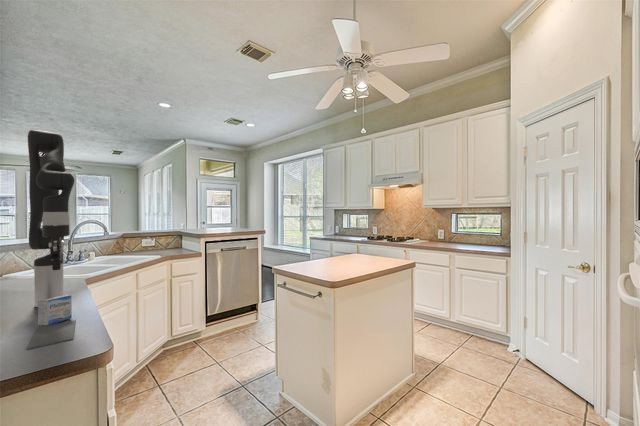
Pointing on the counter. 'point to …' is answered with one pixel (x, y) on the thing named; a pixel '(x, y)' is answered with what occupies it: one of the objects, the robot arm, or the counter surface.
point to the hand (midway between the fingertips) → (56, 269)
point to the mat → (52, 334)
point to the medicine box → (54, 310)
